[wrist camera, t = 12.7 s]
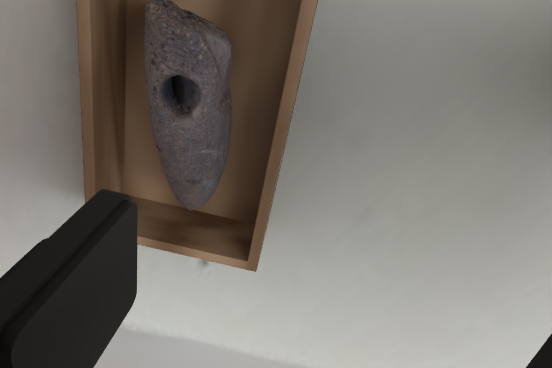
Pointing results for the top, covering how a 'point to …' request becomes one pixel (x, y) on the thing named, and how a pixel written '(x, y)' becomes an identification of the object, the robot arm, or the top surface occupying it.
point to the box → (244, 121)
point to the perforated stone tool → (188, 98)
